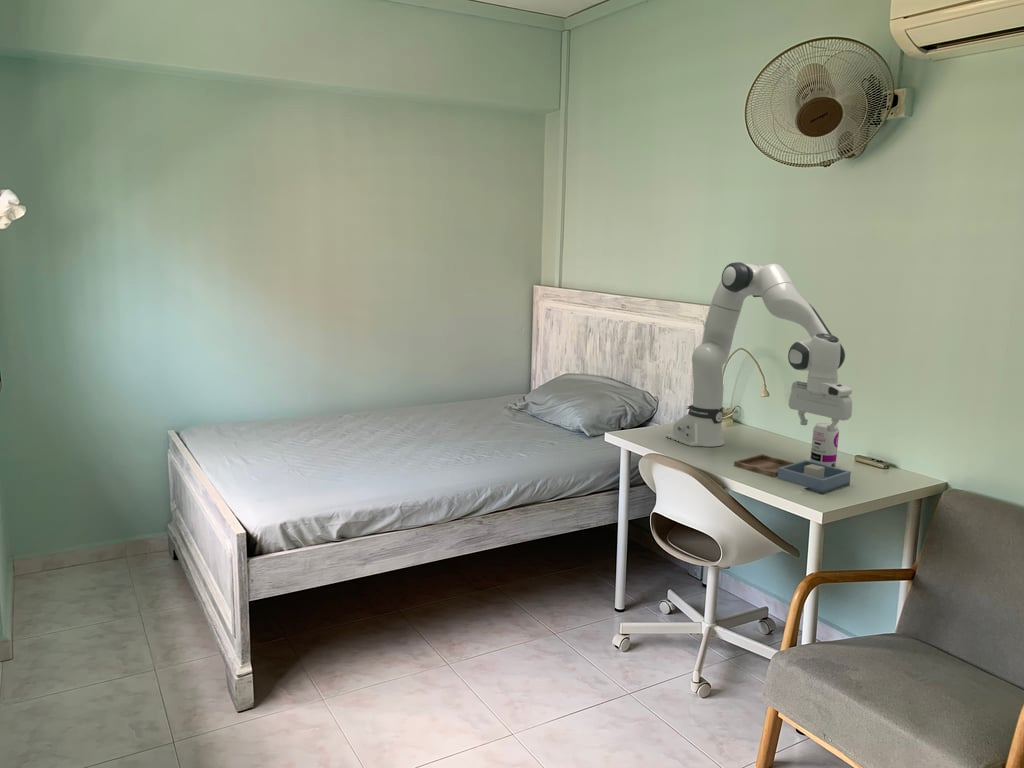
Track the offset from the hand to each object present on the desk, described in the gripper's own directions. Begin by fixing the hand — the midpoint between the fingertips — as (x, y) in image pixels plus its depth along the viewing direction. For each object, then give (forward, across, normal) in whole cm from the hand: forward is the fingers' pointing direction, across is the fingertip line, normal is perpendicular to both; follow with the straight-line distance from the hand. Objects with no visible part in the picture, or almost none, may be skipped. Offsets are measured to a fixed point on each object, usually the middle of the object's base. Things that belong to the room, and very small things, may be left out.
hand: (816, 428), depth 254 cm
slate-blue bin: (+18, +1, +1) cm, 18 cm away
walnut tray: (+19, -16, 0) cm, 25 cm away
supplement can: (+19, -8, +20) cm, 28 cm away
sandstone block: (+17, 0, +1) cm, 17 cm away
